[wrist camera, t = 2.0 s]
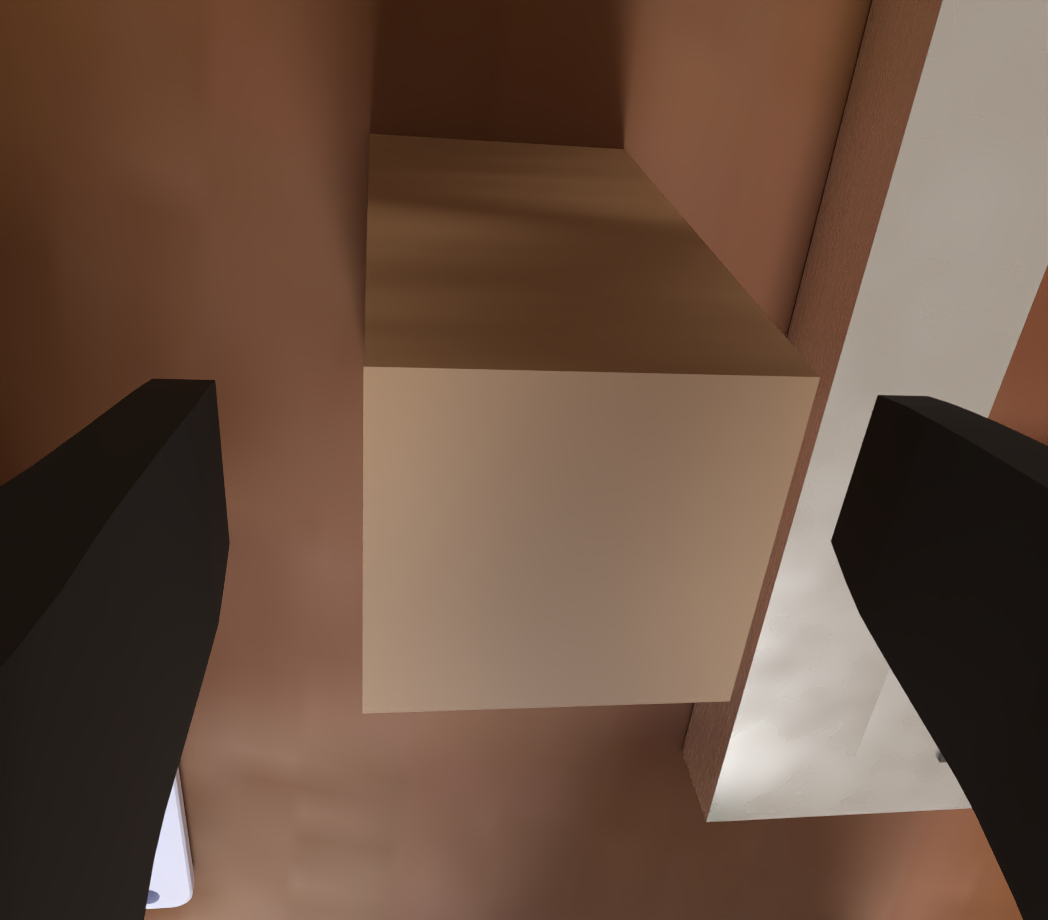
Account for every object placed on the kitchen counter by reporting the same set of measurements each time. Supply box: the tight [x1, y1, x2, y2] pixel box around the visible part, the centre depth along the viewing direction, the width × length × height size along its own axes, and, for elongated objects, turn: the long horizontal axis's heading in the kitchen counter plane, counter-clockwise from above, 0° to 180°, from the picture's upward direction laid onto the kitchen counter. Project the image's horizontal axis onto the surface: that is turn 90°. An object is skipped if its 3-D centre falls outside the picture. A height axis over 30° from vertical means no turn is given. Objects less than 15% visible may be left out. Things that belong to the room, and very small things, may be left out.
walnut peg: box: [362, 134, 820, 714], centre depth 13 cm, size 4×4×8 cm
